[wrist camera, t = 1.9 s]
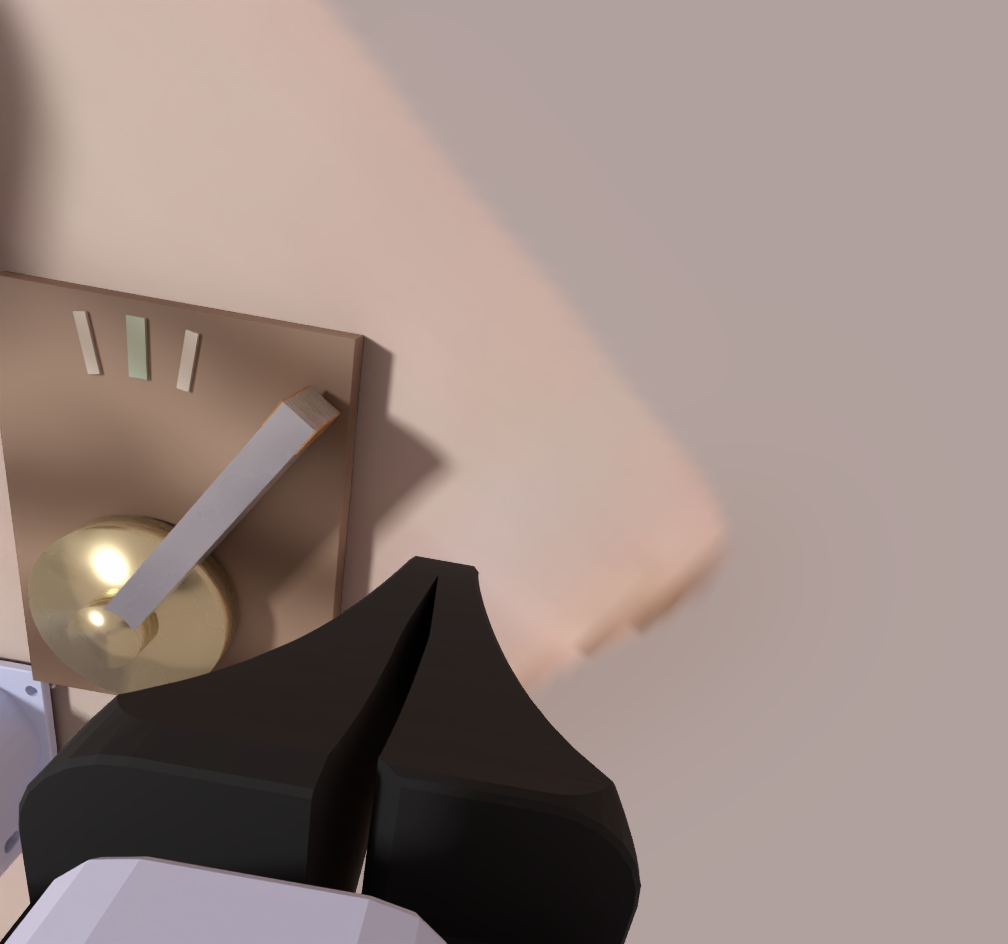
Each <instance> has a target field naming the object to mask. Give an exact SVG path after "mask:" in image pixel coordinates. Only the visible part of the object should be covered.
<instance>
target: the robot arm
mask: <svg viewBox="0 0 1008 944" xmlns="http://www.w3.org/2000/svg"><path fill="white" fill-rule="evenodd" d="M478 573H479V572H478V571H477V570H476V568H475V567H474V566H469V565H463V564H458V563H452V562H447V561H441V560H435V559H430V558H424V557H419V556H415V557H413V558H412V559H410V560H409V561H408V562H407V563H406V564H405V565H403V566H402V567H401V568H400V569H399V570H398V571H397V572H396V573H394V574H393V575H392V576H391V577H390V578H389V579H387V580H386V581H385V582H384V583H383V584H381V585H380V586H379V587H377V588H376V589H375V590H374V591H372V592H371V593H370V594H368V595H367V596H366V597H364V598H363V599H362V600H360V601H359V602H358V603H356V604H355V605H353V606H352V607H350V608H349V609H347V610H346V611H344V612H343V613H341V614H340V615H338V616H337V617H335V618H334V619H332V620H331V621H329V622H327V623H326V624H324V625H322V626H321V627H319V628H317V629H315V630H313V631H311V632H310V633H308V634H306V635H304V636H302V637H300V638H298V639H296V640H294V641H292V642H289V643H287V644H285V645H282V646H280V647H278V648H275V649H273V650H270V651H268V652H266V653H263V654H261V655H259V656H256V657H254V658H251V659H249V660H246V661H243V662H240V663H237V664H234V665H232V666H229V667H226V668H223V669H219V670H216V671H213V672H210V673H206V674H203V675H200V676H196V677H192V678H189V679H185V680H181V681H177V682H173V683H168V684H164V685H159V686H155V687H151V688H146V689H142V690H138V691H133V692H128V693H123V694H118V695H117V696H116V697H115V698H114V699H113V700H112V701H111V702H109V703H108V704H107V705H106V706H105V707H104V708H103V709H102V710H101V711H99V712H98V713H97V714H96V715H95V716H94V717H93V718H92V719H91V720H90V721H89V722H88V723H87V724H86V725H85V726H84V727H83V728H82V729H81V730H80V731H79V732H78V733H77V734H76V735H75V736H74V737H73V738H72V739H71V740H70V741H69V742H68V743H67V745H66V746H65V747H64V748H63V749H62V750H61V751H60V752H59V753H58V754H57V745H56V737H55V728H54V720H53V712H52V703H51V695H50V686H49V683H45V682H39V681H34V680H33V676H32V668H31V665H25V664H19V663H14V662H8V661H2V660H0V877H1V875H2V874H3V873H4V872H5V871H6V870H7V869H8V867H9V866H10V865H11V864H12V863H13V862H14V860H15V859H16V858H17V857H18V856H19V855H20V854H21V852H22V853H23V859H24V866H25V872H26V878H27V885H28V891H29V897H30V905H29V906H28V907H27V909H26V910H25V911H24V912H23V914H22V915H21V916H20V917H19V919H18V920H17V921H16V922H15V924H14V925H13V926H12V928H11V929H10V930H9V931H8V933H7V934H6V935H5V936H4V938H3V939H2V940H1V942H0V944H624V942H625V939H626V937H627V934H628V931H629V929H630V926H631V923H632V920H633V917H634V914H635V912H636V909H637V906H638V900H639V894H640V888H641V883H640V877H639V868H638V862H637V856H636V852H635V848H634V844H633V839H632V836H631V832H630V829H629V826H628V823H627V819H626V816H625V813H624V810H623V807H622V804H621V802H620V798H619V795H618V793H617V790H616V787H615V785H614V783H613V781H611V780H610V779H609V778H608V777H607V776H606V775H604V774H603V773H602V772H601V771H600V770H599V769H597V768H596V767H595V766H594V765H593V764H592V763H590V762H589V761H588V760H587V759H586V758H585V757H583V756H582V755H581V754H580V753H579V752H578V751H576V750H575V749H574V748H573V747H572V746H571V745H570V744H569V743H568V742H567V741H566V740H565V738H563V736H562V735H560V733H559V732H558V731H557V730H556V729H555V728H554V727H553V726H552V725H551V724H550V723H549V721H548V720H547V719H546V718H545V717H544V715H543V714H542V713H541V711H540V710H539V709H538V708H537V706H536V705H535V704H534V703H533V701H532V700H531V699H530V697H529V696H528V694H527V693H526V691H525V690H524V688H523V687H522V685H521V684H520V682H519V681H518V679H517V677H516V676H515V674H514V672H513V671H512V669H511V667H510V665H509V664H508V662H507V660H506V658H505V656H504V654H503V652H502V650H501V648H500V645H499V643H498V641H497V639H496V637H495V634H494V632H493V629H492V627H491V624H490V621H489V619H488V616H487V613H486V610H485V607H484V604H483V600H482V596H481V592H480V587H479V580H478ZM366 851H367V854H366ZM365 854H366V862H365V871H364V879H363V887H362V893H361V894H357V893H355V892H356V888H357V885H358V881H359V877H360V873H361V869H362V865H363V861H364V858H365Z"/></svg>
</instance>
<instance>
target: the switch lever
mask: <svg viewBox="0 0 1008 944" xmlns="http://www.w3.org/2000/svg"><path fill="white" fill-rule="evenodd" d="M340 414H341V413H340V412H339V411H338V410H337V409H335V408H334V407H333V406H332V405H331V404H330V403H329V402H328V401H327V400H325V399H324V398H323V397H322V396H321V395H320V394H319V393H318V392H317V391H316V390H314V389H313V388H312V387H311V386H310V385H309V386H307V387H305V388H303V389H302V390H300V391H298V392H296V393H294V394H293V395H291V396H289V397H287V398H286V399H284V400H282V401H281V402H280V403H279V404H278V405H277V407H276V408H275V409H274V410H273V411H272V412H271V413H270V415H269V416H268V417H267V418H266V419H265V420H264V422H263V423H262V424H261V425H262V427H261V428H260V429H259V430H258V431H257V432H256V434H255V435H254V436H253V437H252V438H251V439H250V440H249V442H248V443H247V444H246V445H245V446H244V447H243V449H242V450H241V451H240V452H239V453H238V454H237V455H236V457H235V458H234V459H233V460H232V461H231V462H230V464H229V465H228V466H227V467H226V468H225V469H224V470H223V472H222V473H221V474H220V475H219V476H218V477H217V479H216V480H215V481H214V482H213V483H212V484H211V485H210V487H209V488H208V489H207V490H206V491H205V492H204V494H203V495H202V496H201V497H200V498H199V499H198V500H197V502H196V503H195V504H194V505H193V506H192V507H191V509H190V510H189V511H188V512H187V513H186V514H185V515H184V517H183V518H182V519H181V520H180V521H179V522H178V524H177V525H176V526H175V527H173V526H171V525H169V524H166V523H164V522H161V521H158V520H155V519H152V518H147V517H142V516H135V515H113V516H107V517H102V518H99V519H96V520H93V521H90V522H88V523H86V524H84V525H83V526H81V527H79V528H77V529H76V530H74V531H72V532H71V533H69V534H67V535H65V536H64V537H62V538H60V539H59V540H57V541H56V542H54V543H53V544H52V545H50V546H49V547H48V548H47V549H46V550H45V551H44V552H43V553H42V554H41V555H40V557H39V558H38V560H37V561H36V563H35V565H34V567H33V570H32V572H31V575H30V580H29V588H28V597H29V606H30V610H31V614H32V617H33V620H34V622H35V625H36V627H37V629H38V631H39V633H40V634H41V636H42V638H43V639H44V641H45V642H46V644H47V645H48V647H49V648H50V649H51V650H52V651H53V653H54V654H55V655H56V656H57V657H58V658H59V659H60V660H61V661H62V662H63V663H64V664H65V665H66V666H68V667H69V668H70V669H71V670H73V671H74V672H75V673H77V674H78V675H80V676H81V677H83V678H84V679H86V680H87V681H89V682H91V683H93V684H95V685H97V686H99V687H102V688H104V689H107V690H109V691H112V692H115V693H119V694H123V693H128V692H133V691H138V690H142V689H146V688H151V687H155V686H159V685H164V684H168V683H173V682H177V681H181V680H185V679H189V678H192V677H196V676H200V675H203V674H206V673H209V672H210V671H211V670H212V669H213V668H214V666H215V665H216V664H217V663H218V661H219V660H220V659H221V658H222V656H223V655H224V654H225V652H226V651H227V650H228V648H229V647H230V645H231V643H232V641H233V639H234V636H235V634H236V629H237V624H238V607H237V601H236V597H235V593H234V590H233V587H232V585H231V583H230V580H229V579H228V577H227V575H226V573H225V571H224V570H223V568H222V567H221V566H220V564H219V563H218V561H217V560H216V559H215V558H214V557H213V556H212V555H211V553H212V552H213V550H214V549H215V548H216V547H217V546H218V545H219V544H220V543H221V542H222V541H223V539H224V538H225V537H226V536H227V535H228V534H229V533H230V532H231V531H232V530H233V529H234V527H235V526H236V525H237V524H238V523H239V522H240V521H241V520H242V519H243V518H244V516H245V515H246V514H247V513H248V512H249V511H250V510H251V509H252V508H253V507H254V505H255V504H256V503H257V502H258V501H259V500H260V499H261V498H262V497H263V496H264V495H265V493H266V492H267V491H268V490H269V489H270V488H271V487H272V486H273V485H274V484H275V482H276V481H277V480H278V479H279V478H280V477H281V476H282V475H283V474H284V473H285V471H286V470H287V469H288V468H289V467H290V466H291V465H292V464H293V463H294V462H295V461H296V459H297V458H298V457H299V456H300V455H301V454H302V453H303V452H304V451H305V450H306V448H307V447H308V446H309V445H310V444H311V443H312V442H313V441H314V440H315V439H316V438H318V437H319V436H320V435H321V434H322V433H323V432H324V431H325V430H326V429H327V428H328V427H329V426H330V425H331V423H332V422H333V421H334V420H335V419H336V418H337V417H338V416H339V415H340Z"/></svg>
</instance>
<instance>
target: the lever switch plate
mask: <svg viewBox="0 0 1008 944" xmlns="http://www.w3.org/2000/svg"><path fill="white" fill-rule="evenodd" d="M363 339H364V335H359V334H353V333H347V332H342V331H336V330H331V329H325V328H320V327H314V326H308V325H303V324H297V323H292V322H286V321H280V320H275V319H269V318H264V317H258V316H253V315H247V314H241V313H236V312H230V311H225V310H219V309H213V308H208V307H202V306H197V305H191V304H186V303H180V302H174V301H169V300H163V299H158V298H152V297H146V296H141V295H135V294H130V293H124V292H119V291H113V290H107V289H102V288H96V287H91V286H85V285H80V284H74V283H68V282H63V281H57V280H52V279H46V278H40V277H35V276H29V275H24V274H18V273H13V272H7V271H4V272H0V430H1V438H2V445H3V453H4V461H5V468H6V476H7V484H8V491H9V499H10V507H11V514H12V522H13V530H14V537H15V545H16V553H17V560H18V568H19V576H20V584H21V591H22V599H23V607H24V614H25V622H26V630H27V637H28V645H29V653H30V660H31V668H32V676H33V680H34V681H39V682H45V683H51V684H56V685H62V686H68V687H73V688H79V689H85V690H90V691H96V692H102V693H107V694H113V695H118V694H119V693H115V692H112V691H109V690H107V689H104V688H102V687H99V686H97V685H95V684H93V683H91V682H89V681H87V680H86V679H84V678H83V677H81V676H80V675H78V674H77V673H75V672H74V671H73V670H71V669H70V668H69V667H68V666H66V665H65V664H64V663H63V662H62V661H61V660H60V659H59V658H58V657H57V656H56V655H55V654H54V653H53V651H52V650H51V649H50V648H49V647H48V645H47V644H46V642H45V641H44V639H43V638H42V636H41V634H40V633H39V631H38V629H37V627H36V625H35V622H34V620H33V617H32V614H31V610H30V606H29V597H28V588H29V580H30V575H31V572H32V570H33V567H34V565H35V563H36V561H37V560H38V558H39V557H40V555H41V554H42V553H43V552H44V551H45V550H46V549H47V548H48V547H49V546H50V545H52V544H53V543H54V542H56V541H57V540H59V539H60V538H62V537H64V536H65V535H67V534H69V533H71V532H72V531H74V530H76V529H77V528H79V527H81V526H83V525H84V524H86V523H88V522H90V521H93V520H96V519H99V518H102V517H107V516H113V515H135V516H142V517H147V518H152V519H155V520H158V521H161V522H164V523H166V524H169V525H171V526H173V527H175V526H176V525H177V524H178V522H179V521H180V520H181V519H182V518H183V517H184V515H185V514H186V513H187V512H188V511H189V510H190V509H191V507H192V506H193V505H194V504H195V503H196V502H197V500H198V499H199V498H200V497H201V496H202V495H203V494H204V492H205V491H206V490H207V489H208V488H209V487H210V485H211V484H212V483H213V482H214V481H215V480H216V479H217V477H218V476H219V475H220V474H221V473H222V472H223V470H224V469H225V468H226V467H227V466H228V465H229V464H230V462H231V461H232V460H233V459H234V458H235V457H236V455H237V454H238V453H239V452H240V451H241V450H242V449H243V447H244V446H245V445H246V444H247V443H248V442H249V440H250V439H251V438H252V437H253V436H254V435H255V434H256V432H257V431H258V430H259V429H260V428H261V427H262V425H261V424H262V423H263V422H264V420H265V419H266V418H267V417H268V416H269V415H270V413H271V412H272V411H273V410H274V409H275V408H276V407H277V405H278V404H279V403H280V402H281V401H282V400H284V399H286V398H287V397H289V396H291V395H293V394H294V393H296V392H298V391H300V390H302V389H303V388H305V387H307V386H309V385H310V386H311V387H312V388H313V389H314V390H316V391H317V392H318V393H319V394H320V395H321V396H322V397H323V398H324V399H325V400H327V401H328V402H329V403H330V404H331V405H332V406H333V407H334V408H335V409H337V410H338V411H339V412H340V413H341V414H340V415H339V416H338V417H337V418H336V419H335V420H334V421H333V422H332V423H331V425H330V426H329V427H328V428H327V429H326V430H325V431H324V432H323V433H322V434H321V435H320V436H319V437H318V438H316V439H315V440H314V441H313V442H312V443H311V444H310V445H309V446H308V447H307V448H306V450H305V451H304V452H303V453H302V454H301V455H300V456H299V457H298V458H297V459H296V461H295V462H294V463H293V464H292V465H291V466H290V467H289V468H288V469H287V470H286V471H285V473H284V474H283V475H282V476H281V477H280V478H279V479H278V480H277V481H276V482H275V484H274V485H273V486H272V487H271V488H270V489H269V490H268V491H267V492H266V493H265V495H264V496H263V497H262V498H261V499H260V500H259V501H258V502H257V503H256V504H255V505H254V507H253V508H252V509H251V510H250V511H249V512H248V513H247V514H246V515H245V516H244V518H243V519H242V520H241V521H240V522H239V523H238V524H237V525H236V526H235V527H234V529H233V530H232V531H231V532H230V533H229V534H228V535H227V536H226V537H225V538H224V539H223V541H222V542H221V543H220V544H219V545H218V546H217V547H216V548H215V549H214V550H213V552H212V553H211V555H212V556H213V557H214V558H215V559H216V560H217V561H218V563H219V564H220V566H221V567H222V568H223V570H224V571H225V573H226V575H227V577H228V579H229V580H230V583H231V585H232V587H233V590H234V593H235V597H236V601H237V607H238V624H237V629H236V634H235V636H234V639H233V641H232V643H231V645H230V647H229V648H228V650H227V651H226V652H225V654H224V655H223V656H222V658H221V659H220V660H219V661H218V663H217V664H216V665H215V666H214V668H213V669H212V670H211V671H210V672H213V671H216V670H219V669H223V668H226V667H229V666H232V665H234V664H237V663H240V662H243V661H246V660H249V659H251V658H254V657H256V656H259V655H261V654H263V653H266V652H268V651H270V650H273V649H275V648H278V647H280V646H282V645H285V644H287V643H289V642H292V641H294V640H296V639H298V638H300V637H302V636H304V635H306V634H308V633H310V632H311V631H313V630H315V629H317V628H319V627H321V626H322V625H324V624H326V623H327V622H329V621H331V620H332V619H334V618H335V617H337V616H338V615H340V609H341V597H342V585H343V574H344V562H345V550H346V538H347V527H348V515H349V503H350V492H351V480H352V468H353V456H354V445H355V433H356V421H357V409H358V398H359V386H360V374H361V362H362V351H363ZM210 672H209V673H210Z"/></svg>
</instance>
